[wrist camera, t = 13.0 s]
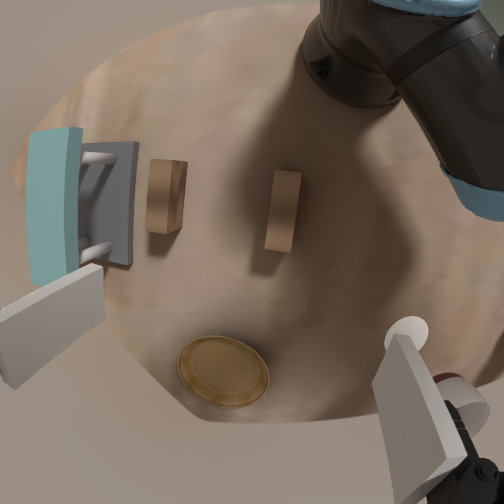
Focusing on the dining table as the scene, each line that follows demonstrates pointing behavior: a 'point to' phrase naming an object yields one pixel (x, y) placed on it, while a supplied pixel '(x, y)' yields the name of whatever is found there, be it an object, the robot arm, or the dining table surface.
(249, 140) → the dining table surface
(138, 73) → the dining table surface
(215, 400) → the plant saucer
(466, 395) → the wineglass
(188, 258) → the dining table surface
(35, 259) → the shelf board
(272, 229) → the blocks
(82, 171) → the peg stand
